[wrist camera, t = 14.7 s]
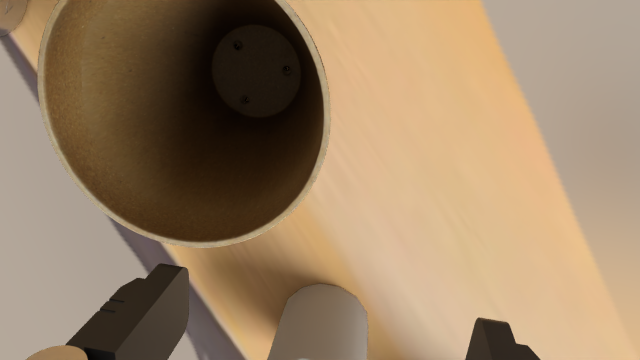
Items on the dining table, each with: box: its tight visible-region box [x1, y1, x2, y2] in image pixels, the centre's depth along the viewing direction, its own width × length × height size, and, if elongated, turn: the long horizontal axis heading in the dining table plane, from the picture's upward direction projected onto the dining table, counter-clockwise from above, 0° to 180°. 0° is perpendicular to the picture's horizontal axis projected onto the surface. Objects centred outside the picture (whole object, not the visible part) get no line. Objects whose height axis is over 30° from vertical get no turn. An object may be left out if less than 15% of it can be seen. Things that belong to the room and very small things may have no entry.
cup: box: [267, 283, 368, 360], centre depth 41 cm, size 8×8×10 cm
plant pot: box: [38, 0, 331, 248], centre depth 30 cm, size 15×15×16 cm
